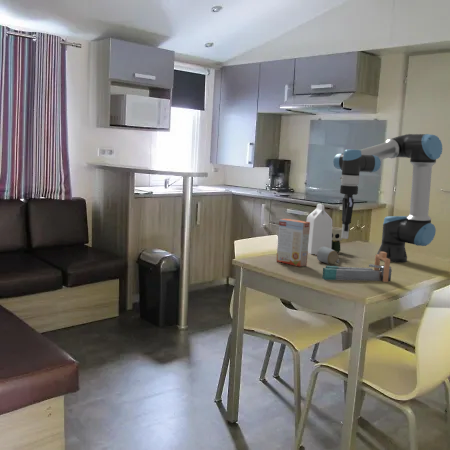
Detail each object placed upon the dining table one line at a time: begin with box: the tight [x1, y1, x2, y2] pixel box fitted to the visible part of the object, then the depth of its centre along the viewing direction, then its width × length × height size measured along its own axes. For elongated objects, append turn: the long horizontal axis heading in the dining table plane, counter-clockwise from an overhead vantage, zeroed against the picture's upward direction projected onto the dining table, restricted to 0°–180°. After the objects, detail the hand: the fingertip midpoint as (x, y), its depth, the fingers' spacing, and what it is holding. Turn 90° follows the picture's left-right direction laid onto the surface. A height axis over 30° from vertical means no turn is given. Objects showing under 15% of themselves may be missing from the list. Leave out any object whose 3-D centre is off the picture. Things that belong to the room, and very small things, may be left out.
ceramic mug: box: [316, 247, 340, 266], centre depth 252 cm, size 11×8×8 cm
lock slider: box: [373, 252, 391, 283], centre depth 224 cm, size 2×10×12 cm, turn 8°
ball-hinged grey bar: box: [322, 267, 393, 283], centre depth 222 cm, size 30×5×5 cm, turn 98°
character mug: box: [331, 226, 345, 253], centre depth 283 cm, size 11×7×13 cm, turn 62°
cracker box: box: [276, 218, 310, 268], centre depth 245 cm, size 14×6×21 cm, turn 47°
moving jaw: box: [325, 263, 392, 270], centre depth 224 cm, size 27×7×6 cm, turn 94°
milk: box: [305, 203, 333, 256], centre depth 277 cm, size 12×12×26 cm
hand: (344, 238), depth 229 cm, fingers closed
